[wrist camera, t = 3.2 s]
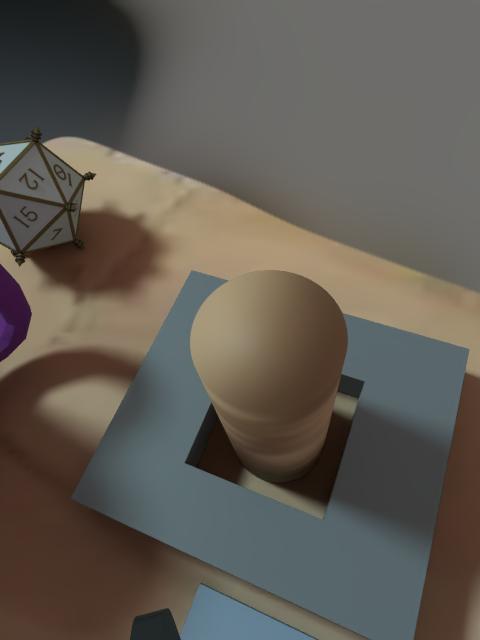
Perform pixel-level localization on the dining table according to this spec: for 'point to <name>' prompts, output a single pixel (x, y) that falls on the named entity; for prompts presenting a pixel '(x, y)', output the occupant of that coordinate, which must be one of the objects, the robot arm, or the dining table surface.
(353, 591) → the board
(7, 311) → the mug
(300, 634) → the pad
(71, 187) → the game die
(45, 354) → the dining table surface
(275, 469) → the peg
